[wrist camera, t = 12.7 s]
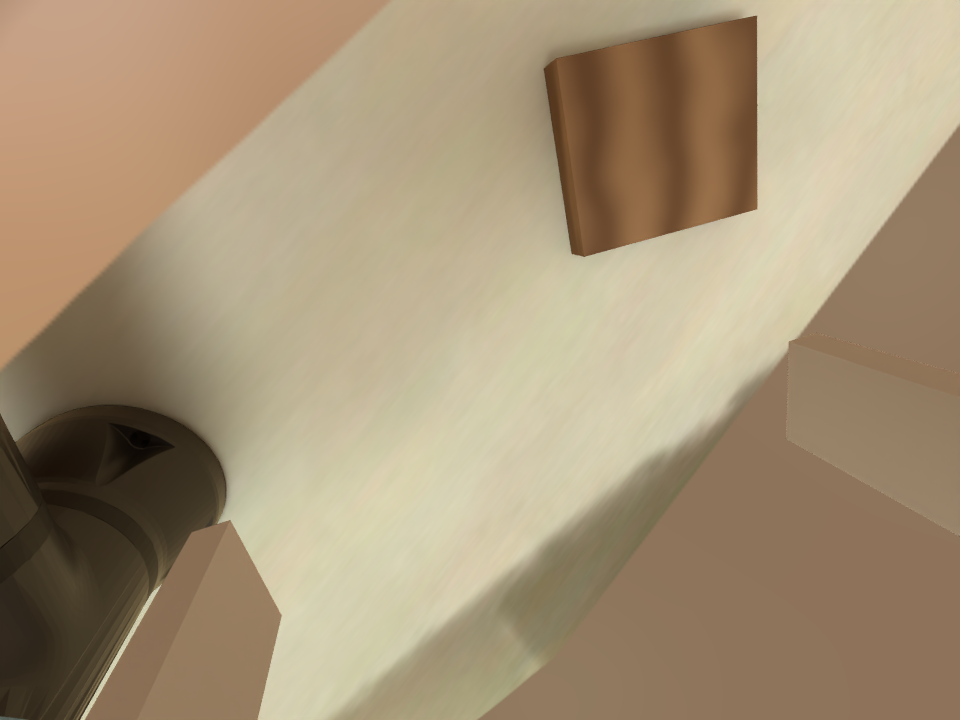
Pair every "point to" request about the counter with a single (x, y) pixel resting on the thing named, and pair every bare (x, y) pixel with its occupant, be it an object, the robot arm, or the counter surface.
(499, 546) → the counter surface
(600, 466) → the counter surface
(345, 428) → the counter surface
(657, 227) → the board
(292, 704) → the counter surface
